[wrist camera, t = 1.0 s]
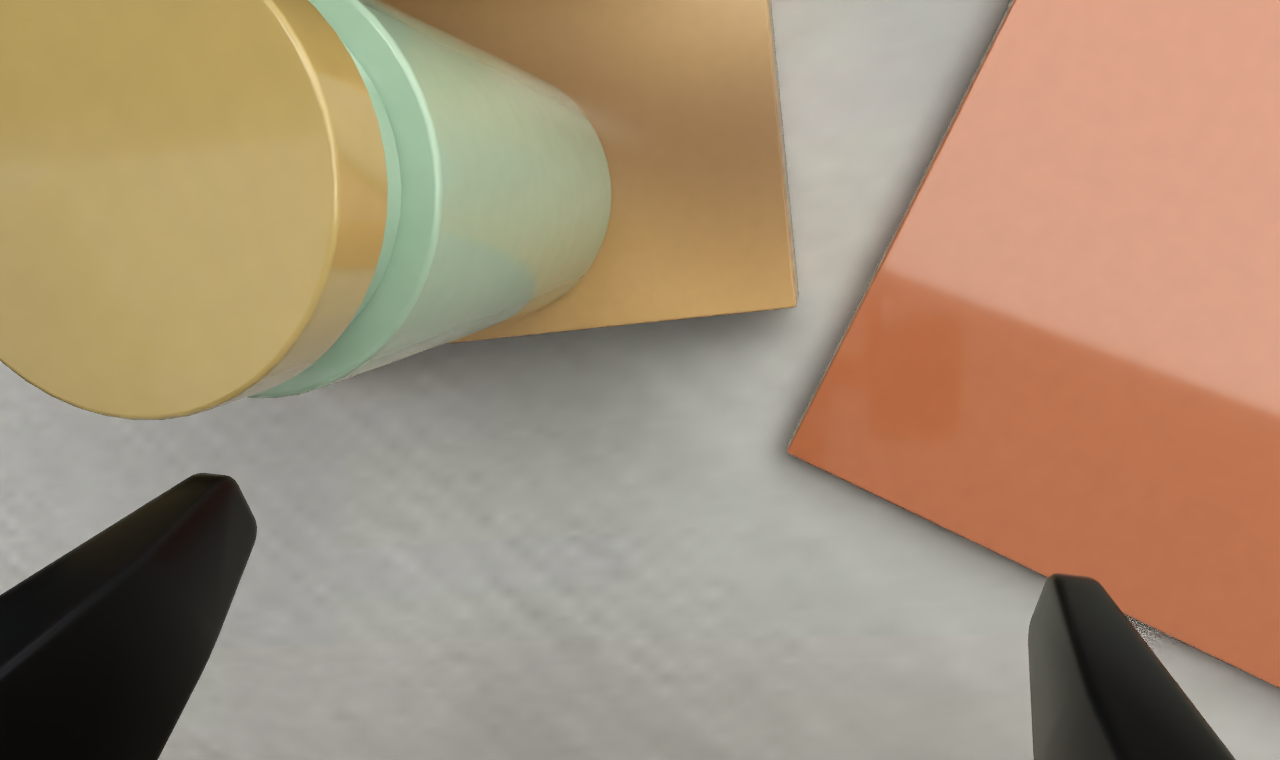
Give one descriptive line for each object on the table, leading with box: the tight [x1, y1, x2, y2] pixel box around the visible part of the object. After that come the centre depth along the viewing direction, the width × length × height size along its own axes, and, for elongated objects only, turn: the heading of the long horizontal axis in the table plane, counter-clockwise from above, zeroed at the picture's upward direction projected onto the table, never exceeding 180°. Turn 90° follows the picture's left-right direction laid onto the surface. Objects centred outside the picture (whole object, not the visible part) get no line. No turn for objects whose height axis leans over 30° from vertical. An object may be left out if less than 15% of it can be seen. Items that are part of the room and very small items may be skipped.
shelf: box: [380, 0, 799, 344], centre depth 20 cm, size 10×14×9 cm
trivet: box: [787, 0, 1280, 688], centre depth 21 cm, size 16×16×1 cm
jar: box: [0, 0, 611, 420], centre depth 16 cm, size 6×6×12 cm
